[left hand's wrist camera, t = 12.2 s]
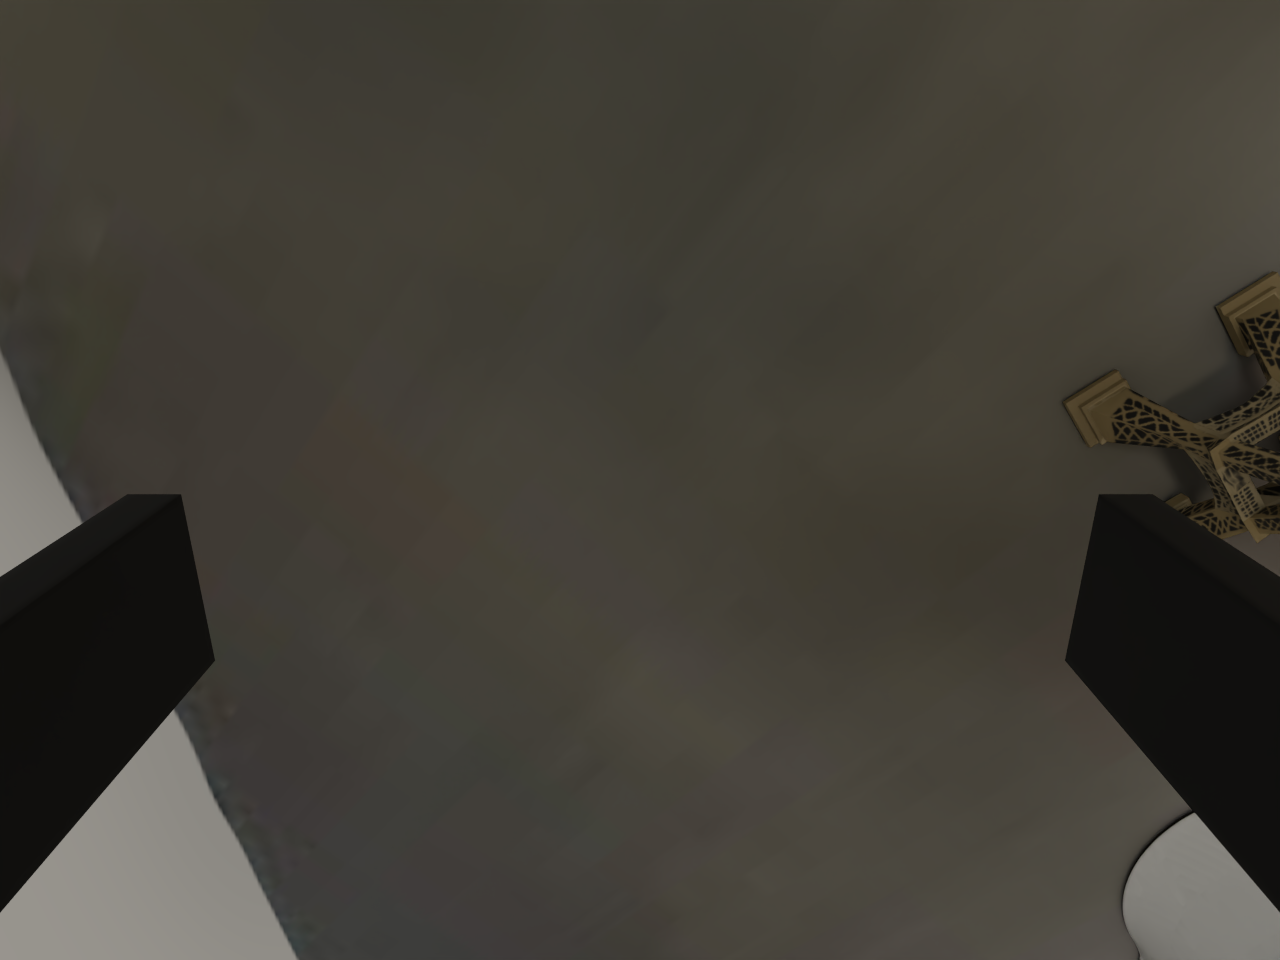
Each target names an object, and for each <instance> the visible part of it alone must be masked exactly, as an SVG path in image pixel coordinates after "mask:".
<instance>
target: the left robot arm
mask: <svg viewBox="0 0 1280 960" xmlns="http://www.w3.org/2000/svg"><path fill="white" fill-rule="evenodd" d="M214 661H215V658H214V654H213V649H212V644H211V639H210V634H209V629H208V624H207V619H206V614H205V610H204V605H203V600H202V595H201V590H200V585H199V580H198V575H197V570H196V565H195V561H194V556H193V551H192V546H191V541H190V536H189V531H188V526H187V521H186V517H185V512H184V507H183V502H182V497H181V494H127V495H126V496H124V497H123V498H121V499H120V500H118V501H117V502H115V503H113V504H112V505H110V506H109V507H107V508H106V509H104V510H103V511H101V512H100V513H98V514H96V515H95V516H93V517H92V518H90V519H89V520H87V521H86V522H84V523H83V524H81V525H80V526H78V527H76V528H75V529H73V530H72V531H70V532H69V533H67V534H66V535H64V536H63V537H61V538H60V539H58V540H56V541H55V542H53V543H52V544H50V545H49V546H47V547H46V548H44V549H43V550H41V551H40V552H38V553H37V554H35V555H33V556H32V557H30V558H29V559H27V560H26V561H24V562H23V563H21V564H19V565H18V566H16V567H15V568H13V569H12V570H10V571H9V572H7V573H6V574H4V575H2V576H1V577H0V912H1V911H2V910H3V909H4V907H5V906H6V905H7V904H8V903H9V902H10V900H11V899H12V898H13V897H14V896H15V895H16V893H17V892H18V891H19V890H20V889H21V888H22V886H23V885H24V884H25V883H26V882H27V880H28V879H29V878H30V877H31V876H32V875H33V873H34V872H35V871H36V870H37V869H38V868H39V866H40V865H41V864H42V863H43V862H44V861H45V859H46V858H47V857H48V856H49V855H50V853H51V852H52V851H53V850H54V849H55V848H56V846H57V845H58V844H59V843H60V842H61V841H62V839H63V838H64V837H65V836H66V835H67V834H68V832H69V831H70V830H71V829H72V828H73V827H74V825H75V824H76V823H77V822H78V821H79V819H80V818H81V817H82V816H83V815H84V814H85V812H86V811H87V810H88V809H89V808H90V807H91V805H92V804H93V803H94V802H95V801H96V799H97V798H98V797H99V796H100V795H101V794H102V792H103V791H104V790H105V789H106V788H107V787H108V785H109V784H110V783H111V782H112V781H113V780H114V778H115V777H116V776H117V775H118V774H119V773H120V771H121V770H122V769H123V768H124V767H125V765H126V764H127V763H128V762H129V761H130V760H131V758H132V757H133V756H134V755H135V754H136V753H137V751H138V750H139V749H140V748H141V747H142V746H143V744H144V743H145V742H146V741H147V740H148V738H149V737H150V736H151V735H152V734H153V733H154V731H155V730H156V729H157V728H158V727H159V726H160V724H161V723H162V722H163V721H164V720H165V719H166V717H167V716H168V715H169V714H170V713H171V712H172V710H173V709H174V708H175V707H176V706H177V704H178V703H179V702H180V701H181V700H182V699H183V697H184V696H185V695H186V694H187V693H188V692H189V690H190V689H191V688H192V687H193V686H194V685H195V683H196V682H197V681H198V680H199V679H200V677H201V676H202V675H203V674H204V673H205V672H206V670H207V669H208V668H209V667H210V666H211V665H212V663H213V662H214ZM1065 661H1066V662H1067V663H1068V665H1069V666H1070V667H1071V668H1072V669H1073V670H1074V672H1075V673H1076V674H1077V675H1078V676H1079V677H1080V679H1081V680H1082V681H1083V682H1084V683H1085V685H1086V686H1087V687H1088V688H1089V689H1090V690H1091V692H1092V693H1093V694H1094V695H1095V696H1096V697H1097V699H1098V700H1099V701H1100V702H1101V703H1102V704H1103V706H1104V707H1105V708H1106V709H1107V710H1108V712H1109V713H1110V714H1111V715H1112V716H1113V717H1114V719H1115V720H1116V721H1117V722H1118V723H1119V724H1120V726H1121V727H1122V728H1123V729H1124V730H1125V731H1126V733H1127V734H1128V735H1129V736H1130V737H1131V739H1132V740H1133V741H1134V742H1135V743H1136V744H1137V746H1138V747H1139V748H1140V749H1141V750H1142V751H1143V753H1144V754H1145V755H1146V756H1147V757H1148V758H1149V760H1150V761H1151V762H1152V763H1153V764H1154V765H1155V767H1156V768H1157V769H1158V770H1159V771H1160V773H1161V774H1162V775H1163V776H1164V777H1165V778H1166V780H1167V781H1168V782H1169V783H1170V784H1171V785H1172V787H1173V788H1174V789H1175V790H1176V791H1177V792H1178V794H1179V795H1180V796H1181V797H1182V798H1183V800H1184V801H1185V802H1186V803H1187V804H1188V805H1189V807H1190V808H1191V809H1192V810H1193V811H1194V812H1195V814H1196V815H1197V816H1198V817H1199V818H1200V819H1201V821H1202V822H1203V823H1204V824H1205V825H1206V827H1207V828H1208V829H1209V830H1210V831H1211V832H1212V834H1213V835H1214V836H1215V837H1216V838H1217V839H1218V841H1219V842H1220V843H1221V844H1222V845H1223V846H1224V848H1225V849H1226V850H1227V851H1228V852H1229V853H1230V855H1231V856H1232V857H1233V858H1234V859H1235V861H1236V862H1237V863H1238V864H1239V865H1240V866H1241V868H1242V869H1243V870H1244V871H1245V872H1246V873H1247V875H1248V876H1249V877H1250V878H1251V879H1252V880H1253V882H1254V883H1255V884H1256V885H1257V886H1258V888H1259V889H1260V890H1261V891H1262V892H1263V893H1264V895H1265V896H1266V897H1267V898H1268V899H1269V900H1270V902H1271V903H1272V904H1273V905H1274V906H1275V907H1276V909H1277V910H1278V911H1279V912H1280V577H1279V576H1278V575H1276V574H1274V573H1273V572H1271V571H1270V570H1268V569H1267V568H1265V567H1264V566H1262V565H1261V564H1259V563H1257V562H1256V561H1254V560H1253V559H1251V558H1250V557H1248V556H1247V555H1245V554H1244V553H1242V552H1241V551H1239V550H1237V549H1236V548H1234V547H1233V546H1231V545H1230V544H1228V543H1227V542H1225V541H1224V540H1222V539H1221V538H1219V537H1217V536H1216V535H1214V534H1213V533H1211V532H1210V531H1208V530H1207V529H1205V528H1204V527H1202V526H1200V525H1199V524H1197V523H1196V522H1194V521H1193V520H1191V519H1190V518H1188V517H1187V516H1185V515H1184V514H1182V513H1180V512H1179V511H1177V510H1176V509H1174V508H1173V507H1171V506H1170V505H1168V504H1167V503H1165V502H1163V501H1162V500H1160V499H1159V498H1157V497H1156V496H1154V495H1153V494H1099V497H1098V502H1097V507H1096V512H1095V517H1094V521H1093V526H1092V531H1091V536H1090V541H1089V546H1088V551H1087V556H1086V561H1085V565H1084V570H1083V575H1082V580H1081V585H1080V590H1079V595H1078V600H1077V605H1076V610H1075V614H1074V619H1073V624H1072V629H1071V634H1070V639H1069V644H1068V649H1067V654H1066V658H1065Z"/></svg>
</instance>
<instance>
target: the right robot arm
mask: <svg viewBox="0 0 1280 960" xmlns="http://www.w3.org/2000/svg"><path fill="white" fill-rule="evenodd" d="M1123 917H1124V921H1125V925H1126V928H1127V930H1128V932H1129V934H1130V936H1131V938H1132V939H1133V941H1134V943H1135V944H1136V946H1137V948H1138V950H1139V954H1140V960H1280V912H1279V911H1278V910H1277V909H1276V907H1275V906H1274V905H1273V904H1272V903H1271V902H1270V900H1269V899H1268V898H1267V897H1266V896H1265V895H1264V893H1263V892H1262V891H1261V890H1260V889H1259V888H1258V886H1257V885H1256V884H1255V883H1254V882H1253V880H1252V879H1251V878H1250V877H1249V876H1248V875H1247V873H1246V872H1245V871H1244V870H1243V869H1242V868H1241V866H1240V865H1239V864H1238V863H1237V862H1236V861H1235V859H1234V858H1233V857H1232V856H1231V855H1230V853H1229V852H1228V851H1227V850H1226V849H1225V848H1224V846H1223V845H1222V844H1221V843H1220V842H1219V841H1218V839H1217V838H1216V837H1215V836H1214V835H1213V834H1212V832H1211V831H1210V830H1209V829H1208V828H1207V827H1206V825H1205V824H1204V823H1203V822H1202V821H1201V819H1200V818H1199V817H1198V816H1197V815H1196V814H1195V813H1193V814H1191V815H1189V816H1187V817H1185V818H1184V819H1182V820H1181V821H1179V822H1177V823H1176V824H1175V825H1173V826H1172V827H1170V828H1169V829H1168V830H1167V831H1165V832H1164V833H1163V834H1162V835H1161V836H1159V837H1158V838H1157V839H1156V840H1155V841H1154V842H1153V843H1152V844H1151V845H1150V846H1149V847H1148V848H1147V850H1146V851H1145V852H1144V853H1143V854H1142V856H1141V857H1140V858H1139V860H1138V861H1137V863H1136V864H1135V866H1134V868H1133V870H1132V872H1131V874H1130V876H1129V878H1128V881H1127V883H1126V887H1125V890H1124V895H1123Z"/></svg>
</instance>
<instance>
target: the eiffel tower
mask: <svg viewBox="0 0 1280 960" xmlns="http://www.w3.org/2000/svg"><path fill="white" fill-rule="evenodd" d="M1216 308H1217V310H1218V312H1219V315H1220V317H1221V319H1222V321H1223V323H1224V325H1225V327H1226V329H1227V331H1228V333H1229V335H1230V337H1231V340H1232V342H1233V344H1234V346H1235V348H1236V350H1237V352H1238V354H1240V355H1243V356H1246V357H1249V356H1250V355H1252V354H1254V353H1255V355H1256V358H1257V360H1258V362H1259V364H1260V366H1261V369H1262V371H1263V373H1264V375H1265V378H1266V380H1267V382H1268V383H1267V384H1266V385H1265V386H1264V387H1263V388H1262V389H1261V390H1260V391H1259V392H1257V393H1256V394H1255V395H1254V396H1253V397H1252V398H1251V399H1250V400H1249V401H1247V402H1246V403H1245V404H1243V405H1242V406H1239V407H1237V408H1235V409H1233V410H1231V411H1228V412H1225V413H1223V414H1220V415H1218V416H1215V417H1212V418H1210V419H1207V420H1204V421H1201V422H1198V423H1195V424H1194V423H1192V422H1190V421H1188V420H1187V419H1185V418H1183V417H1181V416H1179V415H1177V414H1175V413H1174V412H1172V411H1170V410H1168V409H1166V408H1164V407H1162V406H1160V405H1159V404H1157V403H1155V402H1153V401H1151V400H1149V399H1147V398H1145V397H1144V396H1142V395H1140V394H1138V393H1136V392H1134V391H1132V390H1131V388H1130V386H1129V384H1128V383H1127V381H1126V380H1125V379H1123V378H1122V377H1121V375H1120V373H1119V371H1117V370H1113V371H1112V372H1110V373H1108V374H1107V375H1105V376H1104V377H1102V378H1100V379H1099V380H1097V381H1096V382H1094V383H1092V384H1091V385H1089V386H1087V387H1086V388H1084V389H1083V390H1081V391H1079V392H1078V393H1076V394H1075V395H1073V396H1071V397H1070V398H1068V399H1067V400H1065V401H1063V404H1064V406H1065V407H1066V409H1067V411H1068V413H1069V414H1070V416H1071V418H1072V420H1073V422H1074V423H1075V425H1076V427H1077V429H1078V430H1079V432H1080V434H1081V436H1082V437H1083V439H1084V441H1085V443H1086V445H1087V446H1088V447H1090V448H1091V447H1093V446H1094V445H1096V444H1098V443H1100V444H1101V445H1103V444H1104V443H1106V442H1113V443H1123V444H1134V445H1144V446H1155V447H1165V448H1176V449H1184V450H1185V451H1186V453H1187V454H1188V455H1189V456H1190V457H1191V459H1192V460H1193V461H1194V463H1195V464H1196V465H1197V467H1198V468H1199V469H1200V471H1201V472H1202V474H1203V475H1204V477H1205V478H1206V480H1207V482H1208V483H1209V485H1210V487H1211V489H1212V492H1213V495H1214V498H1213V499H1210V500H1206V501H1203V502H1199V503H1196V504H1192V503H1191V501H1190V499H1189V498H1188V497H1187V496H1185V495H1184V494H1182V493H1180V494H1178V495H1177V496H1175V497H1173V498H1171V499H1170V500H1168V501H1166V502H1165V503H1167V504H1168V505H1170V506H1171V507H1173V508H1174V509H1176V510H1177V511H1179V512H1180V513H1182V514H1184V515H1185V516H1187V517H1188V518H1190V519H1191V520H1193V521H1194V522H1196V523H1197V524H1199V525H1200V526H1202V527H1204V528H1205V529H1207V530H1208V531H1210V532H1211V533H1213V534H1214V535H1216V536H1217V537H1219V538H1221V539H1225V538H1228V537H1231V536H1234V535H1237V534H1240V533H1243V532H1246V531H1249V532H1250V533H1251V535H1252V536H1253V538H1254V539H1255V541H1256V543H1258V542H1260V541H1261V540H1262V539H1264V538H1265V537H1267V536H1268V535H1269V534H1280V453H1278V452H1274V451H1271V450H1268V449H1265V448H1261V447H1258V446H1255V445H1254V444H1256V443H1258V442H1260V441H1261V440H1263V439H1265V438H1266V437H1268V436H1270V435H1271V434H1273V433H1275V432H1277V431H1278V430H1280V277H1279V274H1278V272H1271V273H1269V274H1268V275H1266V276H1265V277H1263V278H1261V279H1260V280H1258V281H1257V282H1255V283H1253V284H1252V285H1250V286H1248V287H1247V288H1245V289H1244V290H1242V291H1240V292H1239V293H1237V294H1236V295H1234V296H1232V297H1231V298H1229V299H1228V300H1226V301H1224V302H1223V303H1221V304H1220V305H1218V306H1216ZM1278 437H1279V440H1280V436H1278ZM1250 475H1251V476H1254V477H1257V478H1260V479H1263V480H1266V481H1268V482H1269V483H1268V484H1266V485H1264V486H1261V487H1258V488H1256V487H1255V485H1254V483H1253V482H1252V480H1251V478H1250Z"/></svg>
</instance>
